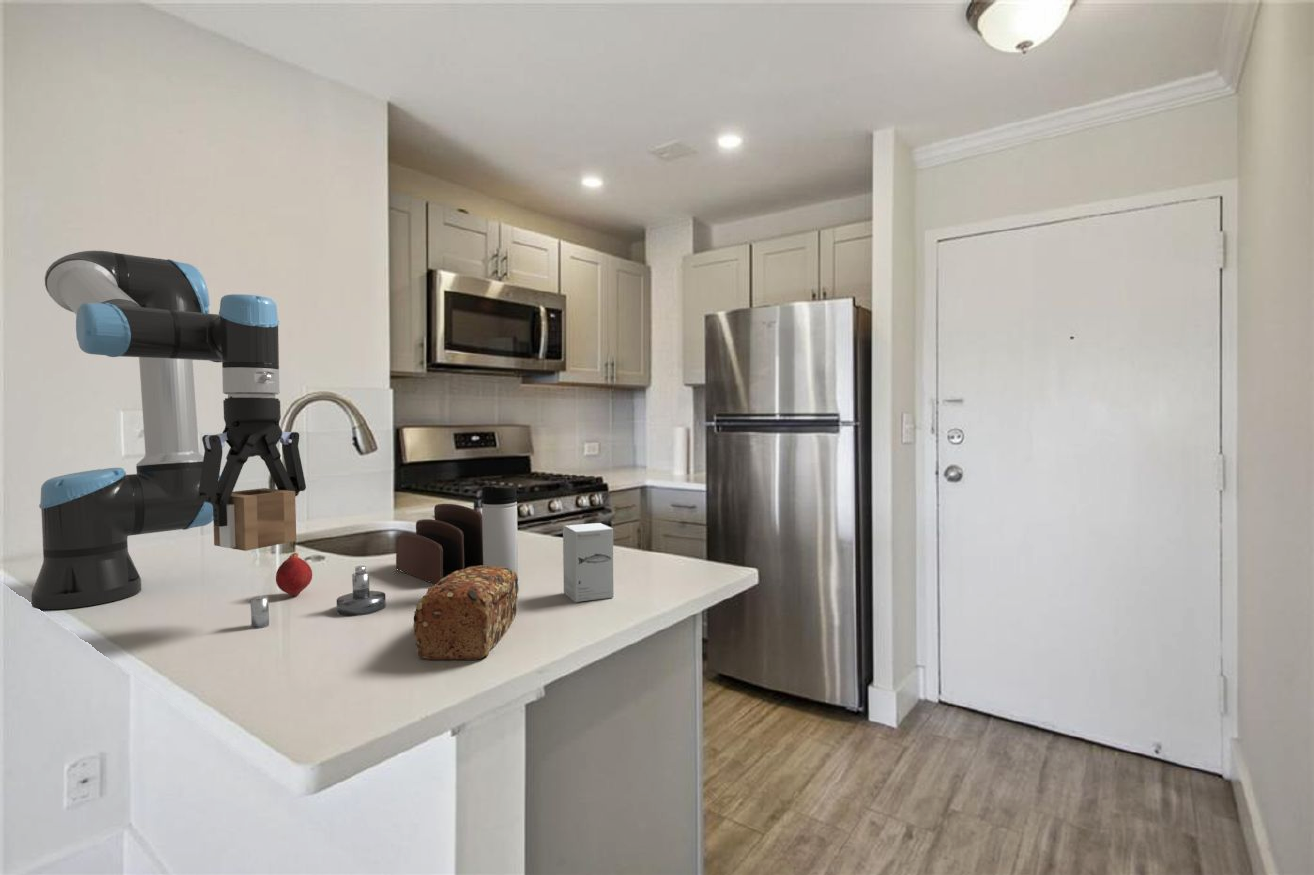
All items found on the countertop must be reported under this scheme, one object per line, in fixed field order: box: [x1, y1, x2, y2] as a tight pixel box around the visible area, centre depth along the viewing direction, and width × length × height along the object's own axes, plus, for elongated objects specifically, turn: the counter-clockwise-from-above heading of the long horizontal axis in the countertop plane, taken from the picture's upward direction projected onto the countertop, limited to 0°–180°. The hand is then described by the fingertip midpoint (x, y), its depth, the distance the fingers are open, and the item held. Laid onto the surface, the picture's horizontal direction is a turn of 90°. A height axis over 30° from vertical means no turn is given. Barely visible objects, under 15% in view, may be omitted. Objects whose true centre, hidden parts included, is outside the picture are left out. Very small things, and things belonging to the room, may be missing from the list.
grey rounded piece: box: [250, 595, 270, 629], centre depth 102 cm, size 2×2×4 cm
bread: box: [412, 565, 519, 661], centre depth 95 cm, size 19×11×10 cm, turn 179°
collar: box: [213, 487, 297, 552], centre depth 102 cm, size 8×8×8 cm
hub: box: [335, 565, 387, 617], centre depth 110 cm, size 8×8×7 cm
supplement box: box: [562, 522, 615, 604], centre depth 116 cm, size 7×7×13 cm
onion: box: [275, 552, 313, 597], centre depth 118 cm, size 6×6×8 cm
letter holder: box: [395, 503, 483, 585], centre depth 134 cm, size 10×20×14 cm, turn 46°
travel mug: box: [481, 485, 520, 591], centre depth 119 cm, size 6×7×20 cm
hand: (256, 541), depth 102 cm, fingers closed on collar, 8 cm apart
